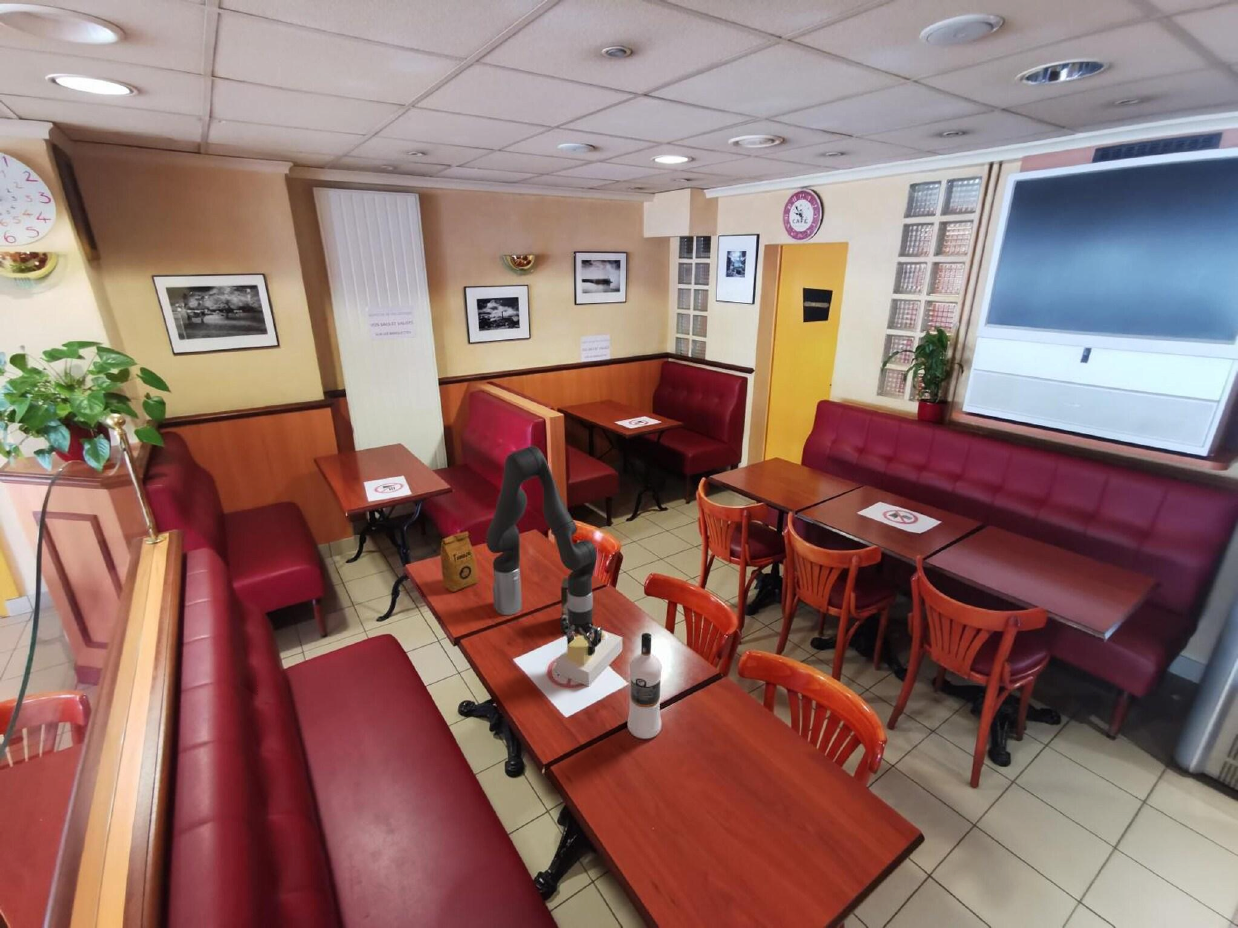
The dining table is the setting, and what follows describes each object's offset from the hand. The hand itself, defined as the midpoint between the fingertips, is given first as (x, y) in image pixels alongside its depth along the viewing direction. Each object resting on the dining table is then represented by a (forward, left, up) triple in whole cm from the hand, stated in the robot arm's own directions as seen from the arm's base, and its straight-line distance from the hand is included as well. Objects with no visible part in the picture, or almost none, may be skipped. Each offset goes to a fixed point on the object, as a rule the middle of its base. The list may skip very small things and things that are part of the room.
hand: (581, 650), depth 180 cm
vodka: (+28, -11, -8) cm, 31 cm away
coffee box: (-16, +20, -8) cm, 27 cm away
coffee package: (-69, +18, -8) cm, 72 cm away
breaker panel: (0, +5, -7) cm, 9 cm away
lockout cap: (0, 0, -2) cm, 2 cm away
